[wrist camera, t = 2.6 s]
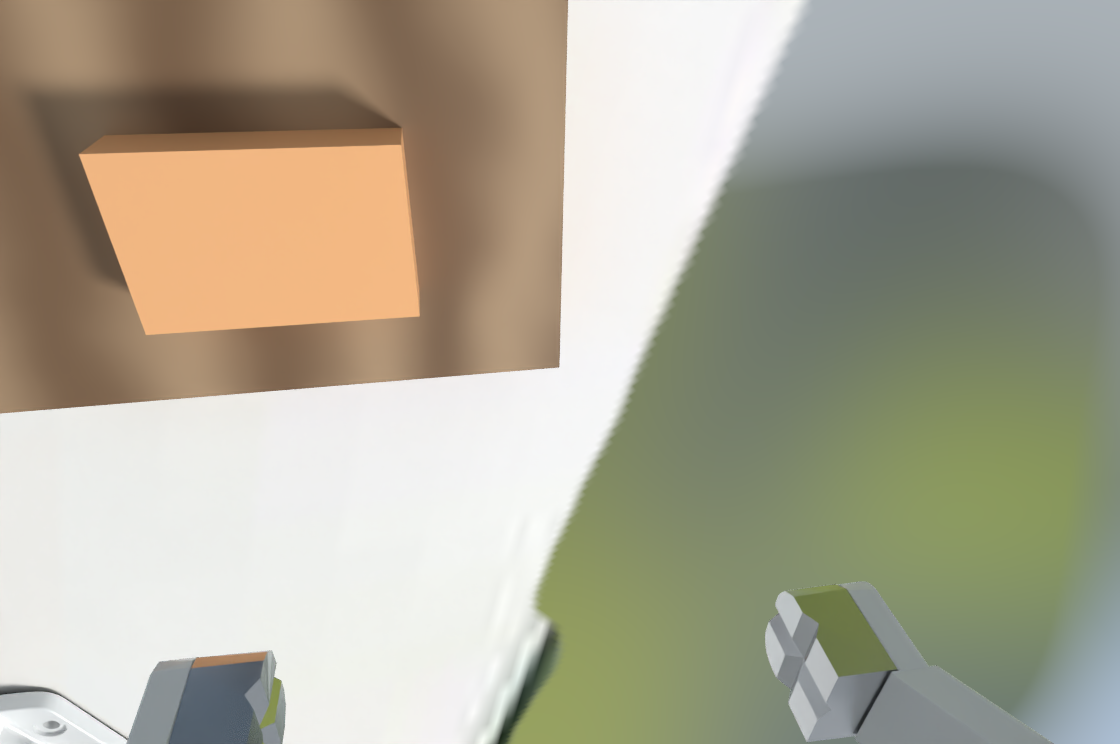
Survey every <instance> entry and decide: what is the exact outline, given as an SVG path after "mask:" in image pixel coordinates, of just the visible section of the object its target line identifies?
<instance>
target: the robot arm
mask: <svg viewBox="0 0 1120 744" xmlns="http://www.w3.org/2000/svg"><path fill="white" fill-rule="evenodd" d="M775 606H776V608H777V610H778V611H779V613H778V614H777V615H776V616H775V617H774V618H772V619H771V620H770V621H769V623H768V626H767V630H766V633H765V641H766V652H767V655H768V659H769V662H770V665H771V667H772V669H773V671H774V674H775V676H776V678H777V679H779V680H780V681H781V682H782V683H784V684H785V685H786V686H788V687H789V688H790V689H791V691H790V697H789V702H788V704H789V705H790V708H791V710H792V712H793V714H794V716H795V718H796V720H797V722H798V724H799V727H800V729H801V731H802V733H803V735H804V737H805V739H806V741H807V742H810V741H819V740H827V739H834V738H842V737H850V736H856V737H855V740H856V741H857V742H858V743H859V744H1053V743H1052V742H1050V741H1049V740H1047V739H1046V738H1044V737H1043V736H1042V735H1040V734H1038V733H1037V732H1036V731H1034V730H1033V729H1031V728H1030V727H1028V726H1027V725H1025V724H1023V723H1022V722H1021V721H1019V720H1018V719H1016V718H1015V717H1013V716H1012V715H1010V714H1009V713H1007V712H1006V711H1004V710H1003V709H1001V708H1000V707H998V706H997V705H995V704H993V703H992V702H991V701H989V700H988V699H986V698H985V697H983V696H982V695H980V694H979V693H977V692H976V691H974V690H973V689H971V688H970V687H968V686H967V685H965V684H964V683H962V682H961V681H959V680H958V679H956V678H955V677H953V676H952V675H950V674H949V673H947V672H946V671H944V670H943V669H941V668H940V667H938V666H937V665H936V666H928V664H927V663H926V662H925V660H924V659H923V657H922V656H921V654H920V653H919V651H918V650H917V648H916V647H915V646H914V644H913V643H912V641H911V640H910V638H909V637H908V635H907V634H906V632H905V631H904V630H903V628H902V627H901V625H900V624H899V622H898V621H897V619H896V618H895V616H894V615H893V614H892V612H891V611H890V609H889V608H888V606H887V605H886V604H885V602H884V600H883V599H882V598H881V597H880V595H879V593H878V592H877V590H876V589H875V588H874V587H873V586H872V585H871V584H869V583H868V582H856V583H847V584H840V585H836V584H832V585H825V586H817V587H810V588H802V589H794V590H787V591H783V592H782V593H781V594H779V596H778V598H777V601H776V603H775ZM275 669H276V661H275V658H274V655H273V652H272V650H269V651H259V652H249V653H239V654H230V655H220V656H210V657H200V658H199V657H196V658H187V659H179V660H170V661H161V662H159V663H158V664H157V666H156V667H155V669H154V670H153V672H152V673H151V675H150V677H149V680H148V683H147V686H146V689H145V692H144V695H143V697H142V700H141V703H140V706H139V709H138V712H137V715H136V718H135V720H134V723H133V726H132V729H131V732H130V735H129V738H128V740H126V739H125V738H123V737H122V736H120V735H119V734H117V733H116V732H114V731H113V730H111V729H110V728H108V727H107V726H105V725H104V724H102V723H101V722H99V721H98V720H96V719H95V718H93V717H92V716H90V715H89V714H87V713H86V712H84V711H83V710H81V709H80V708H78V707H77V706H75V705H74V704H72V703H71V702H69V701H68V700H66V699H65V698H63V697H61V696H59V695H57V694H54V693H49V692H23V693H13V694H4V695H0V744H282V742H283V735H284V728H285V708H286V703H285V694H284V688H283V684H282V681H281V680H279V679H277V678H275V677H274V674H275Z"/></svg>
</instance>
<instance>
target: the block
mask: <svg viewBox="0 0 1120 744" xmlns="http://www.w3.org/2000/svg"><path fill="white" fill-rule="evenodd" d="M79 156H80V159H81V162H82V164H83V167H84V170H85V172H86V175H87V178H88V181H89V183H90V186H91V189H92V191H93V194H94V197H95V199H96V202H97V205H98V207H99V210H100V213H101V215H102V218H103V221H104V224H105V226H106V229H107V232H108V234H109V237H110V240H111V242H112V245H113V248H114V250H115V253H116V256H117V259H118V261H119V264H120V267H121V269H122V272H123V275H124V277H125V280H126V283H127V285H128V288H129V291H130V293H131V296H132V299H133V302H134V304H135V307H136V310H137V312H138V315H139V318H140V320H141V323H142V326H143V328H144V331H145V334H146V335H155V334H170V333H184V332H199V331H214V330H228V329H243V328H258V327H272V326H287V325H302V324H316V323H331V322H345V321H360V320H375V319H389V318H404V317H419V316H420V304H419V284H418V274H417V265H416V255H415V246H414V237H413V227H412V218H411V208H410V199H409V190H408V180H407V171H406V161H405V152H404V143H403V133H402V128H372V129H332V130H293V131H253V132H214V133H174V134H135V135H104V136H103V137H101V138H100V139H99V140H97V141H96V142H95V143H93V144H92V145H91V146H89V147H88V148H87V149H85V150H84V151H82V152H81V153H80V154H79Z"/></svg>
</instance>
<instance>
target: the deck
mask: <svg viewBox="0 0 1120 744" xmlns="http://www.w3.org/2000/svg"><path fill="white" fill-rule="evenodd" d="M567 18H568V0H0V413H11V412H23V411H35V410H47V409H59V408H71V407H84V406H96V405H108V404H120V403H132V402H144V401H156V400H168V399H181V398H193V397H205V396H217V395H229V394H241V393H253V392H265V391H278V390H290V389H302V388H314V387H326V386H338V385H350V384H362V383H375V382H387V381H399V380H411V379H423V378H435V377H447V376H460V375H472V374H484V373H496V372H508V371H520V370H532V369H544V368H557V367H559V358H560V316H561V273H562V231H563V188H564V146H565V103H566V61H567ZM372 128H402V133H403V143H404V152H405V161H406V171H407V180H408V190H409V199H410V208H411V218H412V227H413V237H414V246H415V255H416V265H417V274H418V284H419V304H420V316H419V317H404V318H389V319H375V320H360V321H345V322H331V323H316V324H302V325H287V326H272V327H258V328H243V329H228V330H214V331H199V332H184V333H170V334H155V335H146V334H145V331H144V328H143V326H142V323H141V320H140V318H139V315H138V312H137V310H136V307H135V304H134V302H133V299H132V296H131V293H130V291H129V288H128V285H127V283H126V280H125V277H124V275H123V272H122V269H121V267H120V264H119V261H118V259H117V256H116V253H115V250H114V248H113V245H112V242H111V240H110V237H109V234H108V232H107V229H106V226H105V224H104V221H103V218H102V215H101V213H100V210H99V207H98V205H97V202H96V199H95V197H94V194H93V191H92V189H91V186H90V183H89V181H88V178H87V175H86V172H85V170H84V167H83V164H82V162H81V159H80V156H79V154H80V153H81V152H82V151H84V150H85V149H87V148H88V147H89V146H91V145H92V144H93V143H95V142H96V141H97V140H99V139H100V138H101V137H103V136H104V135H135V134H174V133H214V132H253V131H293V130H332V129H372Z"/></svg>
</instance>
